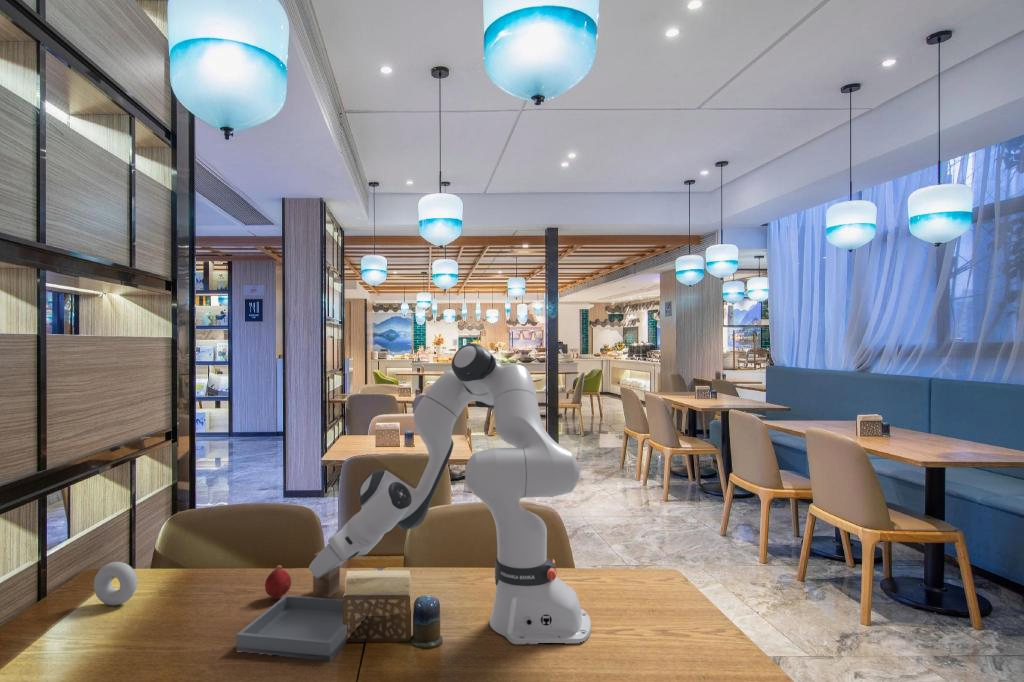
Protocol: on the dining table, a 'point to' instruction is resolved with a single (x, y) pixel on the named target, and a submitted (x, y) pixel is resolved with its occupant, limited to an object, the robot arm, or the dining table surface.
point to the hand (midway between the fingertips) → (324, 571)
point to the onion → (277, 583)
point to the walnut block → (326, 582)
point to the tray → (297, 629)
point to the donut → (105, 587)
